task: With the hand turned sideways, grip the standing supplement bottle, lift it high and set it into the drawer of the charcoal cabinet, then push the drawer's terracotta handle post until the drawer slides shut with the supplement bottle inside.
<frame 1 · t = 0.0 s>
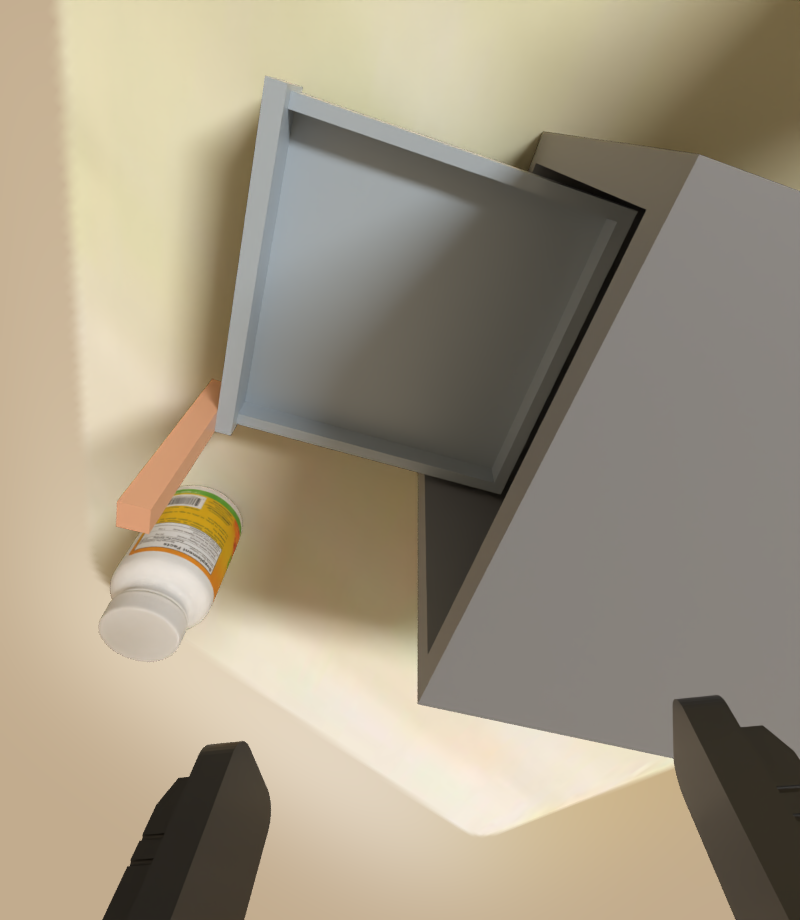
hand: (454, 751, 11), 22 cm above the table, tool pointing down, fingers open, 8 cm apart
supplement bottle: (203, 515, 36), on the table
drawer: (390, 348, 23), point 7 cm above the table, slide at 10.0 cm
cabinet: (611, 367, 30), on the table
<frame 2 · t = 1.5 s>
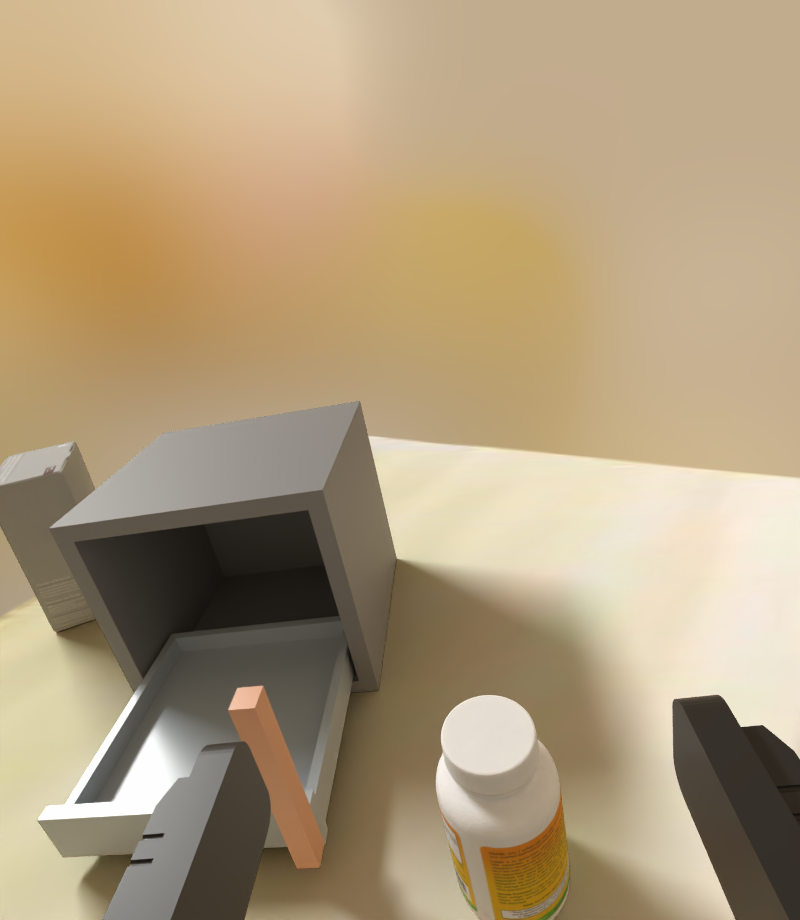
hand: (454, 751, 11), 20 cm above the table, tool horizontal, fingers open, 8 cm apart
supplement bottle: (513, 874, 27), on the table
drawer: (205, 674, 34), point 7 cm above the table, slide at 10.0 cm
skincare box: (98, 601, 57), on the table
cabinet: (285, 624, 48), on the table
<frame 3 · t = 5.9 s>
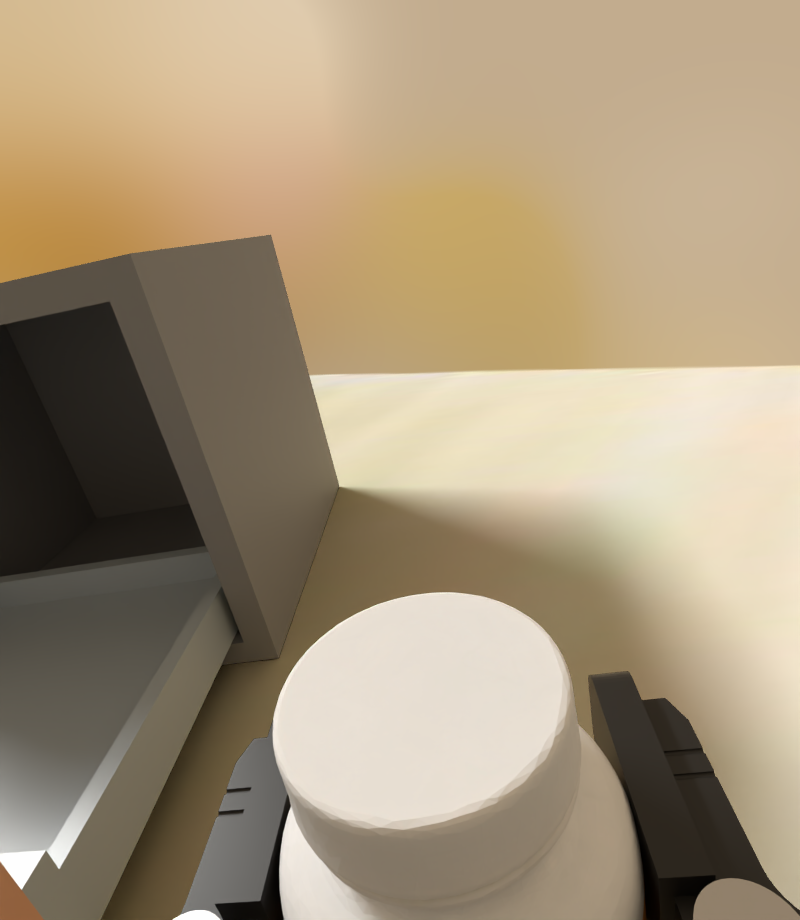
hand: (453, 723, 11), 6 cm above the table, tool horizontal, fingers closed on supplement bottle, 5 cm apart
cabinet: (163, 573, 32), on the table
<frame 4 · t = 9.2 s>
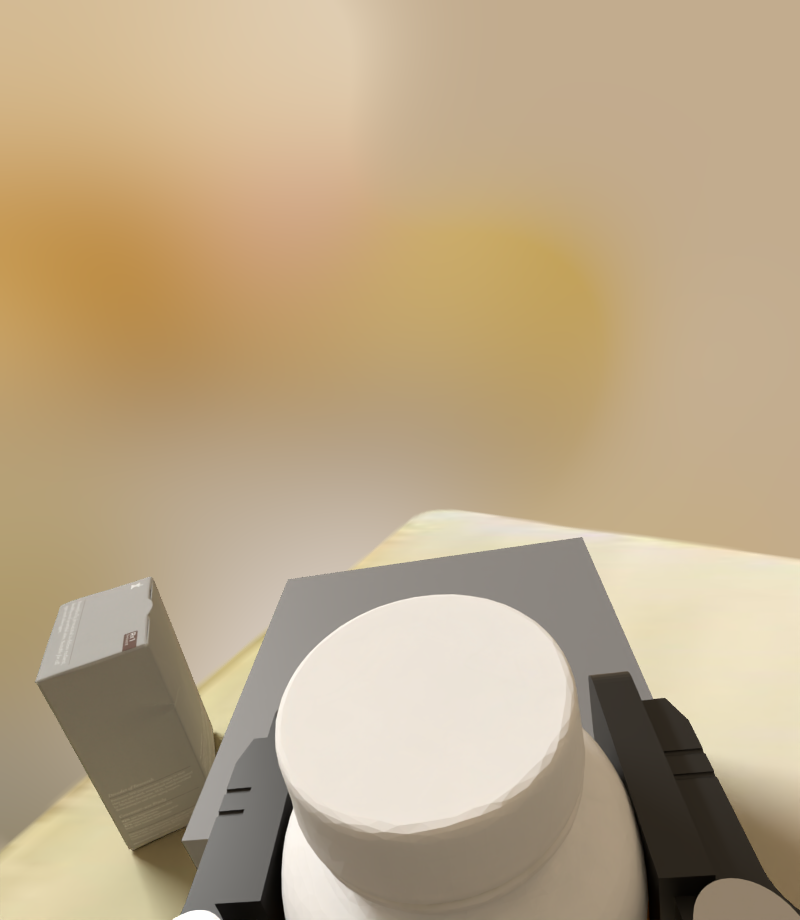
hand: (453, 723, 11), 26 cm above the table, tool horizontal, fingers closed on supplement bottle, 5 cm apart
skincare box: (182, 787, 42), on the table
cabinet: (479, 865, 33), on the table
when the fingers open (9 cm above the table, at t = 12.8 s): supplement bottle drops 1 cm, resting on drawer.
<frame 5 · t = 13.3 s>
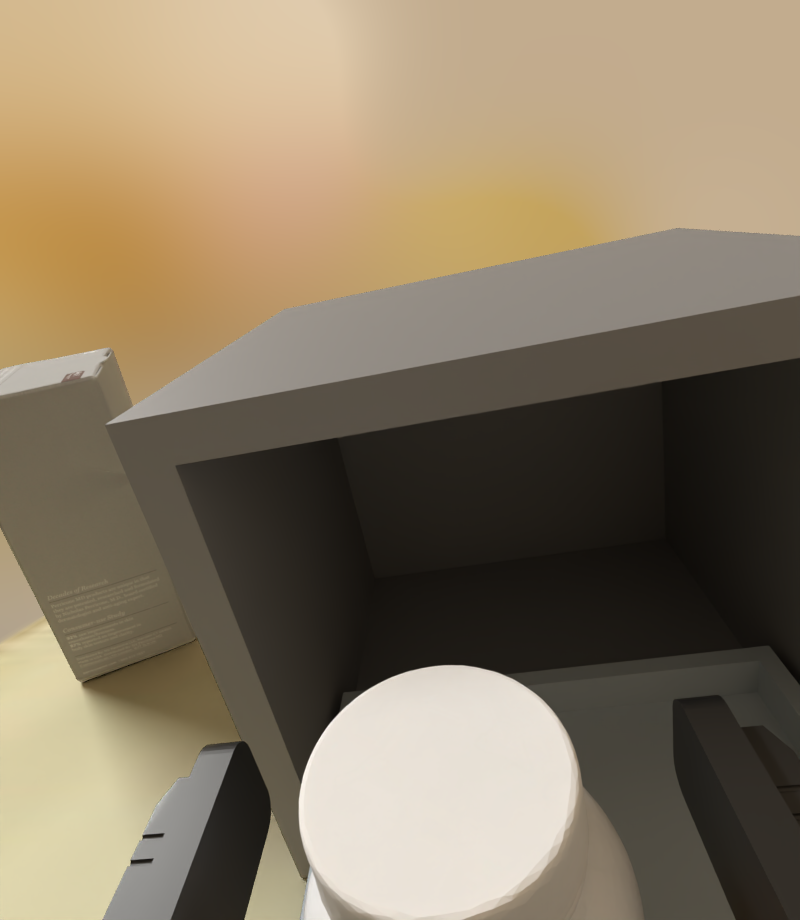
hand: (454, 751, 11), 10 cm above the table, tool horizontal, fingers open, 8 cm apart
drawer: (603, 852, 11), point 7 cm above the table, slide at 9.9 cm, touching supplement bottle
skincare box: (150, 624, 34), on the table
cabinet: (538, 666, 25), on the table
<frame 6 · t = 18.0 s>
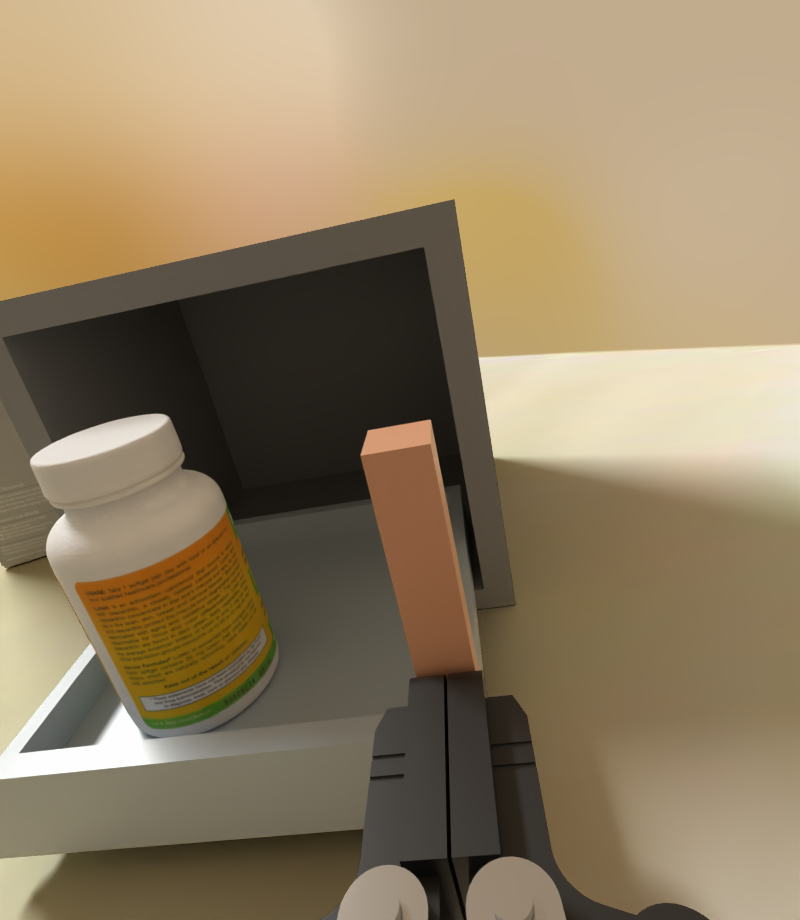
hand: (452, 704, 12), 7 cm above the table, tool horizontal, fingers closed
supplement bottle: (211, 684, 21), point 2 cm above the table, touching drawer
drawer: (248, 537, 20), point 7 cm above the table, slide at 8.8 cm, touching supplement bottle, gripper
skincare box: (69, 532, 42), on the table
cabinet: (340, 536, 32), on the table
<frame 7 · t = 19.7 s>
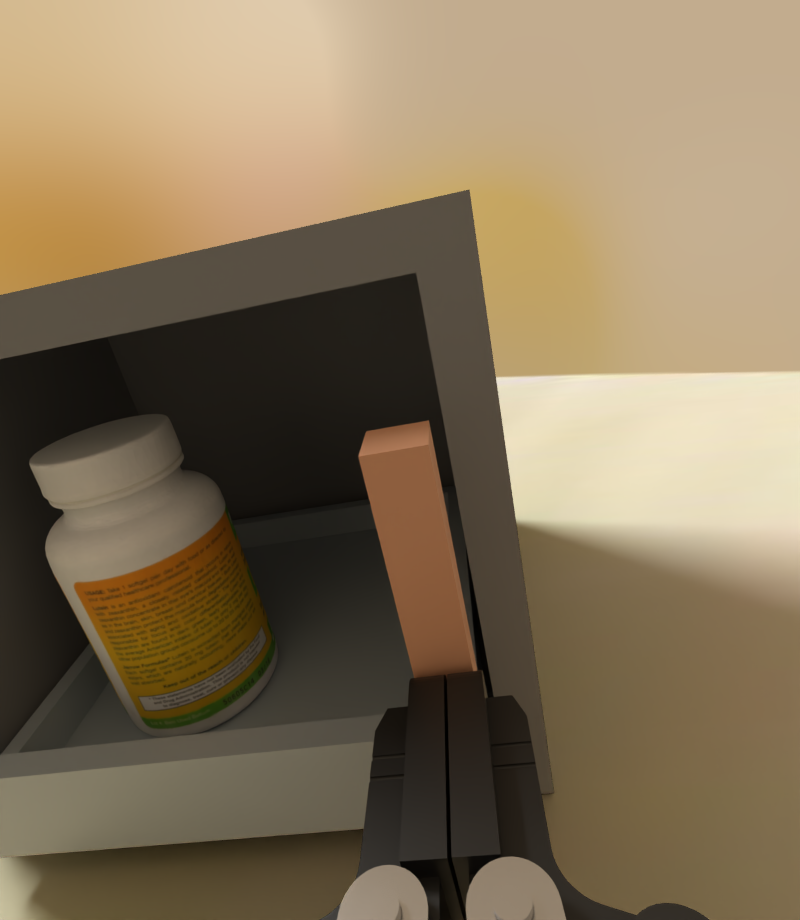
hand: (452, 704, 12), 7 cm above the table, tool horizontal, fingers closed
supplement bottle: (210, 684, 21), point 2 cm above the table, touching drawer
drawer: (247, 537, 20), point 7 cm above the table, slide at 0.3 cm, touching supplement bottle, gripper
cabinet: (310, 638, 25), on the table
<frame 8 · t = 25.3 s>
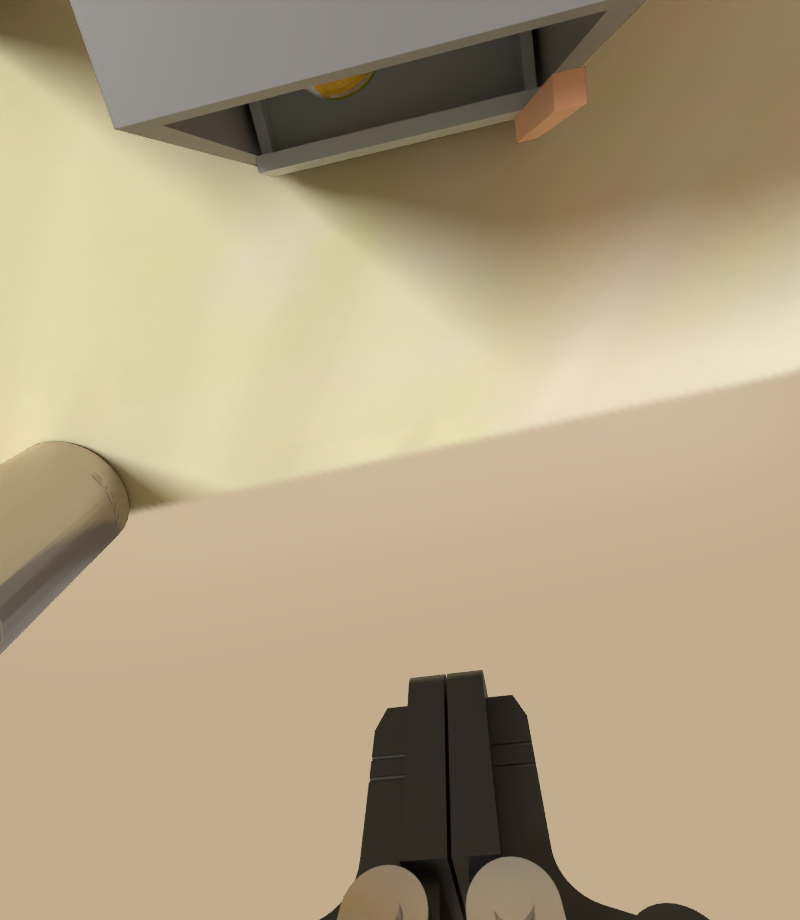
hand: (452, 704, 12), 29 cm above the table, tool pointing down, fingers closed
supplement bottle: (334, 43, 30), point 2 cm above the table, touching drawer
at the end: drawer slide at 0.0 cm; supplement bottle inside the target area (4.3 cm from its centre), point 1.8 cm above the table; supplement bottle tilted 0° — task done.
